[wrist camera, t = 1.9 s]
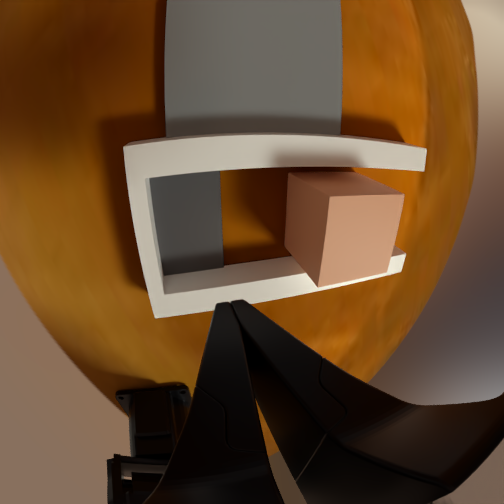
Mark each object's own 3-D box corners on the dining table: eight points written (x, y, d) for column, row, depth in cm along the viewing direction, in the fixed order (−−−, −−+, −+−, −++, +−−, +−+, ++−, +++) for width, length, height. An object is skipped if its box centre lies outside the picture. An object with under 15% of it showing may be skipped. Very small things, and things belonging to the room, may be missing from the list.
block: (345, 237, 18) (386, 272, 14) (283, 245, 17) (317, 287, 13) (354, 171, 16) (404, 194, 12) (287, 172, 15) (329, 196, 11)
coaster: (334, 134, 14) (340, 135, 14) (166, 137, 12) (166, 138, 11) (334, -4, 10) (339, -7, 9) (169, -22, 8) (169, -27, 7)
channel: (385, 258, 20) (401, 271, 18) (155, 296, 16) (155, 318, 14) (405, 142, 15) (426, 149, 14) (130, 142, 11) (123, 146, 10)
